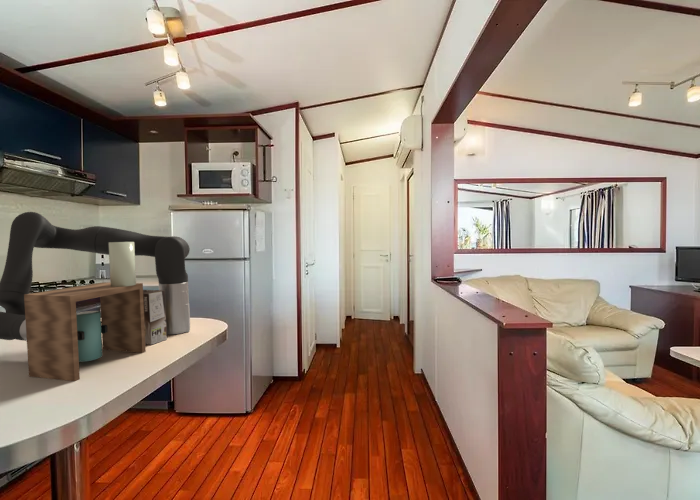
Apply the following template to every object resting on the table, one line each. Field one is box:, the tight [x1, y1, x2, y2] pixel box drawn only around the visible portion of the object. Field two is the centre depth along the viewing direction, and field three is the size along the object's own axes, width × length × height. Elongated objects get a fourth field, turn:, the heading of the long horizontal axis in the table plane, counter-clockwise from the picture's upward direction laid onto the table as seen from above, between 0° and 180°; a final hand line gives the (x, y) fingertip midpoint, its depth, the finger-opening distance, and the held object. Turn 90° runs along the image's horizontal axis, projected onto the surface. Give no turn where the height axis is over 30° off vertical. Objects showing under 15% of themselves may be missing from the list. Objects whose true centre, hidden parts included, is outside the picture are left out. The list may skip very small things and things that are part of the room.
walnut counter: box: [24, 281, 147, 382], centre depth 94 cm, size 14×21×20 cm, turn 167°
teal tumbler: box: [76, 310, 103, 363], centre depth 95 cm, size 6×6×12 cm
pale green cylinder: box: [108, 242, 137, 287], centre depth 99 cm, size 6×6×12 cm
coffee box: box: [143, 289, 168, 345], centre depth 113 cm, size 9×6×16 cm
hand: (95, 332), depth 94 cm, fingers closed on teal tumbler, 6 cm apart
